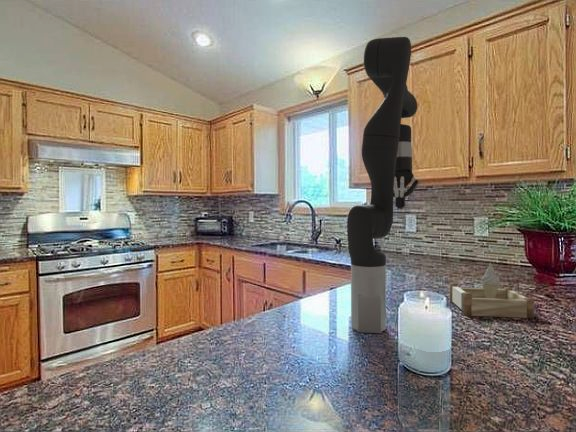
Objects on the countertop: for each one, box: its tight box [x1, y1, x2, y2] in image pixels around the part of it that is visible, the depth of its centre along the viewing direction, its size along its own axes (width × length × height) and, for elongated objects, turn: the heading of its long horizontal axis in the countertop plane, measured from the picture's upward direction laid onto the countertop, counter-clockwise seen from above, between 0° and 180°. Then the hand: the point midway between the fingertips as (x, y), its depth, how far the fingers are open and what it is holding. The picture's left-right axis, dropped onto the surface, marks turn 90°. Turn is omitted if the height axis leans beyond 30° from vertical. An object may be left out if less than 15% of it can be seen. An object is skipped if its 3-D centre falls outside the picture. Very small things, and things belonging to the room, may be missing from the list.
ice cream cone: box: [481, 262, 500, 299], centre depth 113 cm, size 5×5×15 cm
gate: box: [452, 286, 465, 312], centre depth 114 cm, size 11×2×5 cm, turn 171°
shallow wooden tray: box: [449, 282, 535, 319], centre depth 113 cm, size 16×19×6 cm
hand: (400, 208), depth 119 cm, fingers closed
